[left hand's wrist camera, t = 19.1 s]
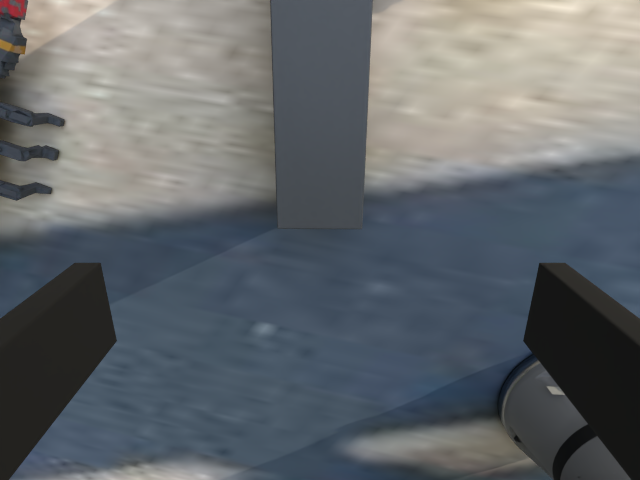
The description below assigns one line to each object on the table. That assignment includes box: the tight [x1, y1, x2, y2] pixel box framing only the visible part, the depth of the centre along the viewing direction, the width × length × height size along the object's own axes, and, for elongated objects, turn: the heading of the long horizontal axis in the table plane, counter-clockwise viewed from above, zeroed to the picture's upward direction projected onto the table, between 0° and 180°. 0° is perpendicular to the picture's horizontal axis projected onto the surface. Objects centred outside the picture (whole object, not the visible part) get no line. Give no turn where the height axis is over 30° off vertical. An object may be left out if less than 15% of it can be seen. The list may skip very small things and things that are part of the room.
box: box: [270, 0, 373, 229], centre depth 30 cm, size 22×6×10 cm, turn 0°
